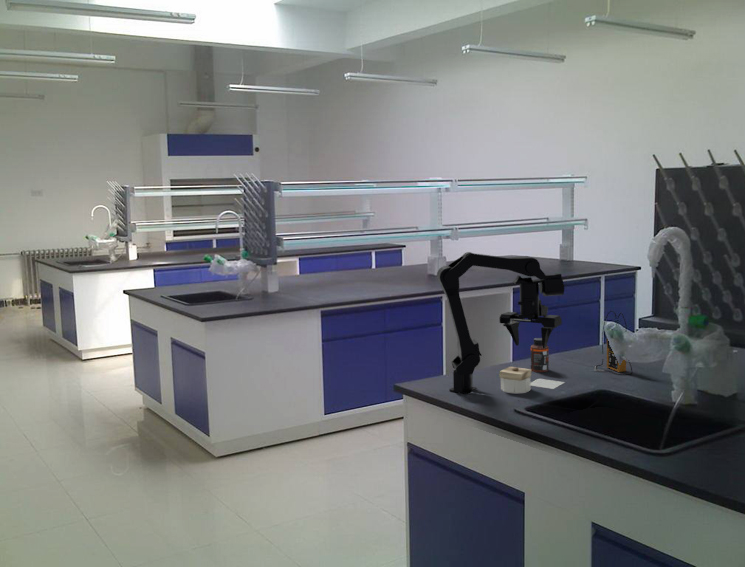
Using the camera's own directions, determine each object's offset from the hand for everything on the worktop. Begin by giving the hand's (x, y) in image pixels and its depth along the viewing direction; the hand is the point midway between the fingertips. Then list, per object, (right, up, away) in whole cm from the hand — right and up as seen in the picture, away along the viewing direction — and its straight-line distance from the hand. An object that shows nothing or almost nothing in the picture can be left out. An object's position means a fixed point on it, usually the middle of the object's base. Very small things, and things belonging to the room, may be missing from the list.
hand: (530, 346), depth 227 cm
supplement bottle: (+8, -11, +21) cm, 25 cm away
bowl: (-5, -14, -2) cm, 15 cm away
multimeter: (+30, -10, +19) cm, 37 cm away
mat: (+6, -13, +4) cm, 14 cm away
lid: (-5, -9, -2) cm, 11 cm away
